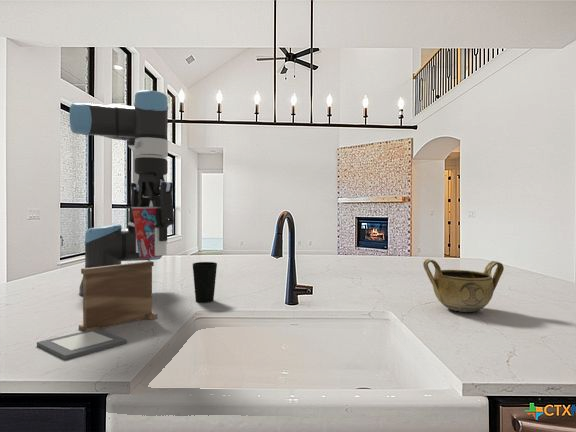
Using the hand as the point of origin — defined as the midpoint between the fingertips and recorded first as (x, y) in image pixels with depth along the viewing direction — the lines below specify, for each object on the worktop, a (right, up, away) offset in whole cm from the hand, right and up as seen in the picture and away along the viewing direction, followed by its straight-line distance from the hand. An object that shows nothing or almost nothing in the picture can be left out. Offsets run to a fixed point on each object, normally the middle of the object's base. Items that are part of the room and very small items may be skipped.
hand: (150, 253), depth 100 cm
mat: (-12, -19, -10) cm, 24 cm away
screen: (-10, -18, +6) cm, 22 cm away
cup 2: (+6, -18, +33) cm, 38 cm away
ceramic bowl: (+85, -19, +23) cm, 90 cm away
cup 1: (0, -1, 0) cm, 1 cm away
